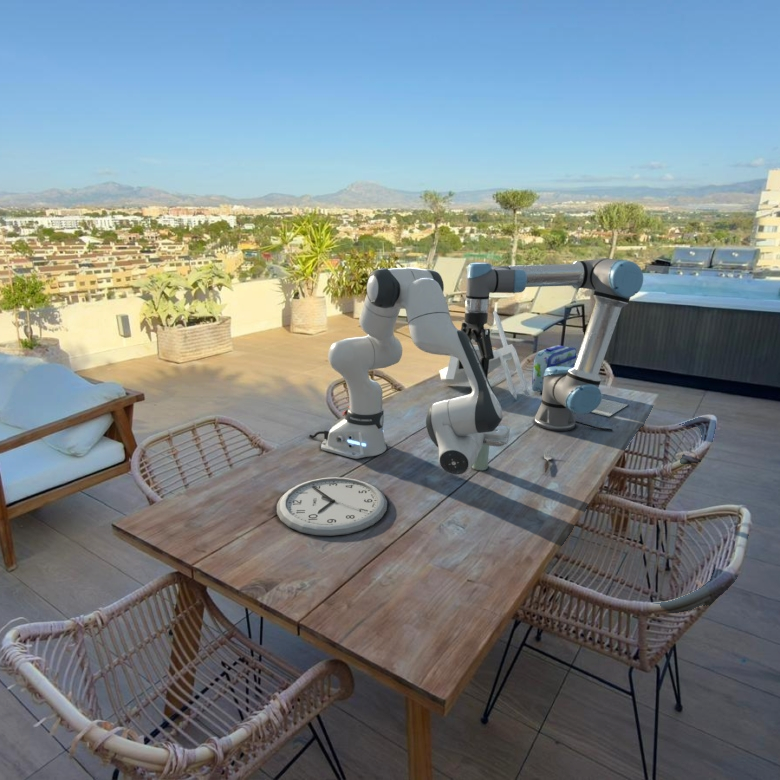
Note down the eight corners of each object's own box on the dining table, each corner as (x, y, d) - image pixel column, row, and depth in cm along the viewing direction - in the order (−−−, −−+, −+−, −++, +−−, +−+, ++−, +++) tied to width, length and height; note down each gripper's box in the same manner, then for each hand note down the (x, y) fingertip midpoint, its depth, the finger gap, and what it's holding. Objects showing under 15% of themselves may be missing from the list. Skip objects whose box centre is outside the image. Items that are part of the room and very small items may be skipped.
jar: (482, 462, 171) (485, 419, 166) (490, 469, 166) (494, 424, 162) (468, 464, 169) (471, 421, 164) (476, 471, 164) (479, 426, 160)
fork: (540, 473, 163) (541, 467, 163) (544, 453, 178) (545, 448, 177) (549, 474, 162) (550, 468, 162) (552, 454, 177) (553, 449, 176)
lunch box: (548, 398, 236) (553, 353, 229) (527, 393, 243) (531, 349, 237) (575, 387, 253) (581, 344, 247) (555, 382, 260) (560, 341, 254)
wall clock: (392, 527, 129) (268, 531, 127) (391, 533, 130) (269, 537, 127) (383, 473, 158) (282, 475, 155) (383, 478, 158) (282, 480, 156)
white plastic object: (461, 429, 252) (437, 405, 227) (444, 352, 274) (420, 323, 250) (535, 404, 240) (518, 377, 215) (510, 326, 262) (492, 293, 237)
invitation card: (608, 416, 214) (573, 407, 224) (608, 416, 214) (573, 408, 224) (628, 404, 229) (594, 396, 238) (628, 405, 229) (594, 397, 238)
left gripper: (507, 433, 135) (514, 416, 147) (431, 422, 141) (443, 406, 153) (505, 456, 137) (511, 437, 149) (429, 444, 143) (442, 426, 155)
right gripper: (448, 306, 181) (445, 365, 188) (487, 317, 159) (482, 384, 166) (466, 305, 184) (463, 363, 190) (508, 316, 162) (502, 382, 169)
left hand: (476, 421), depth 151 cm, fingers open, 8 cm apart
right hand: (472, 373), depth 178 cm, fingers open, 13 cm apart
